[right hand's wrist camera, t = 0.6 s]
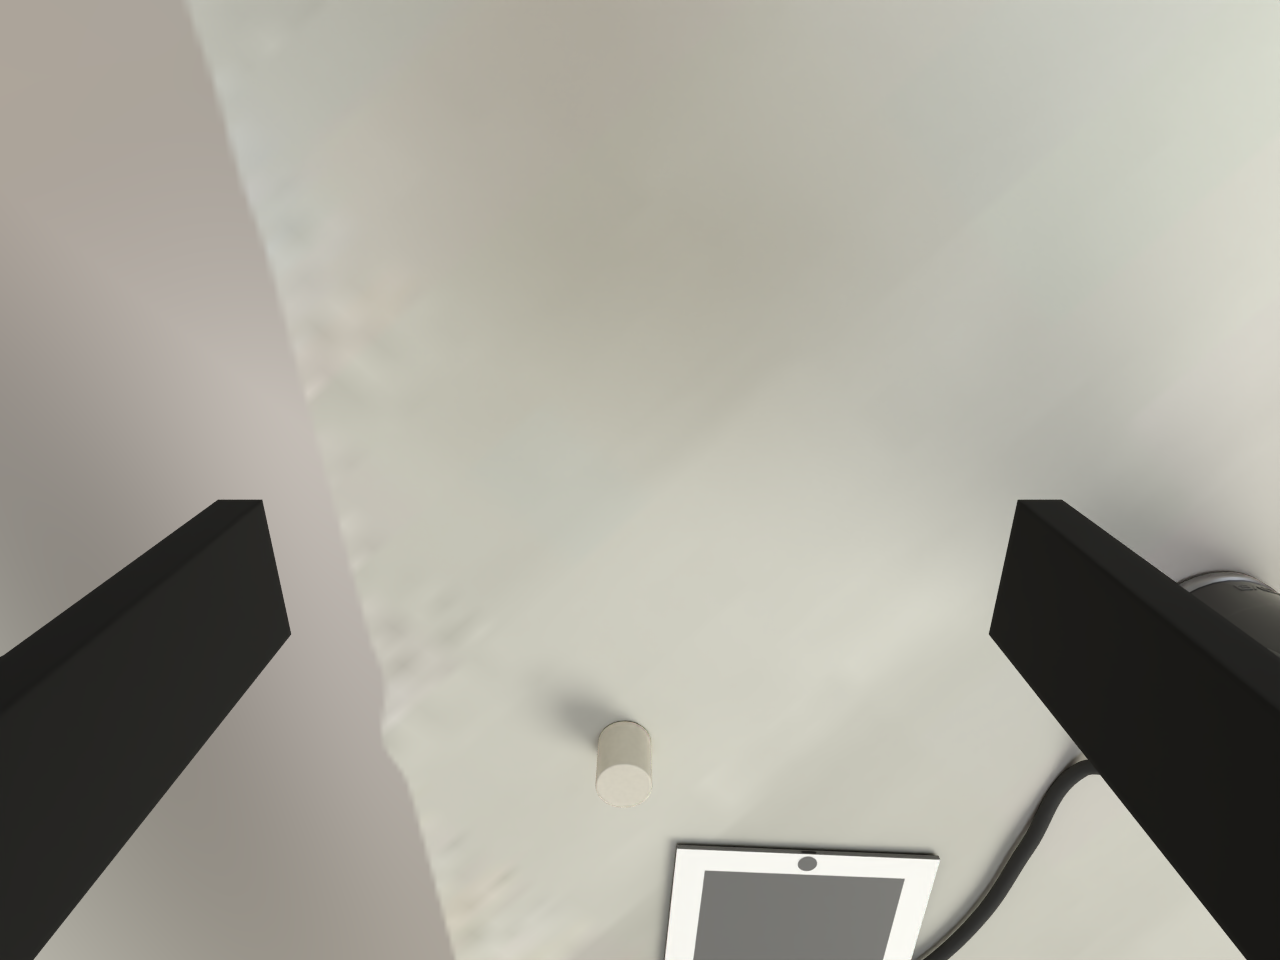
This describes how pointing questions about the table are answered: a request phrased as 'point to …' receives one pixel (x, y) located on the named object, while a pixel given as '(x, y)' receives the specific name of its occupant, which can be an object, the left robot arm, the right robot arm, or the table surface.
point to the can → (624, 765)
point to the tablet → (796, 904)
